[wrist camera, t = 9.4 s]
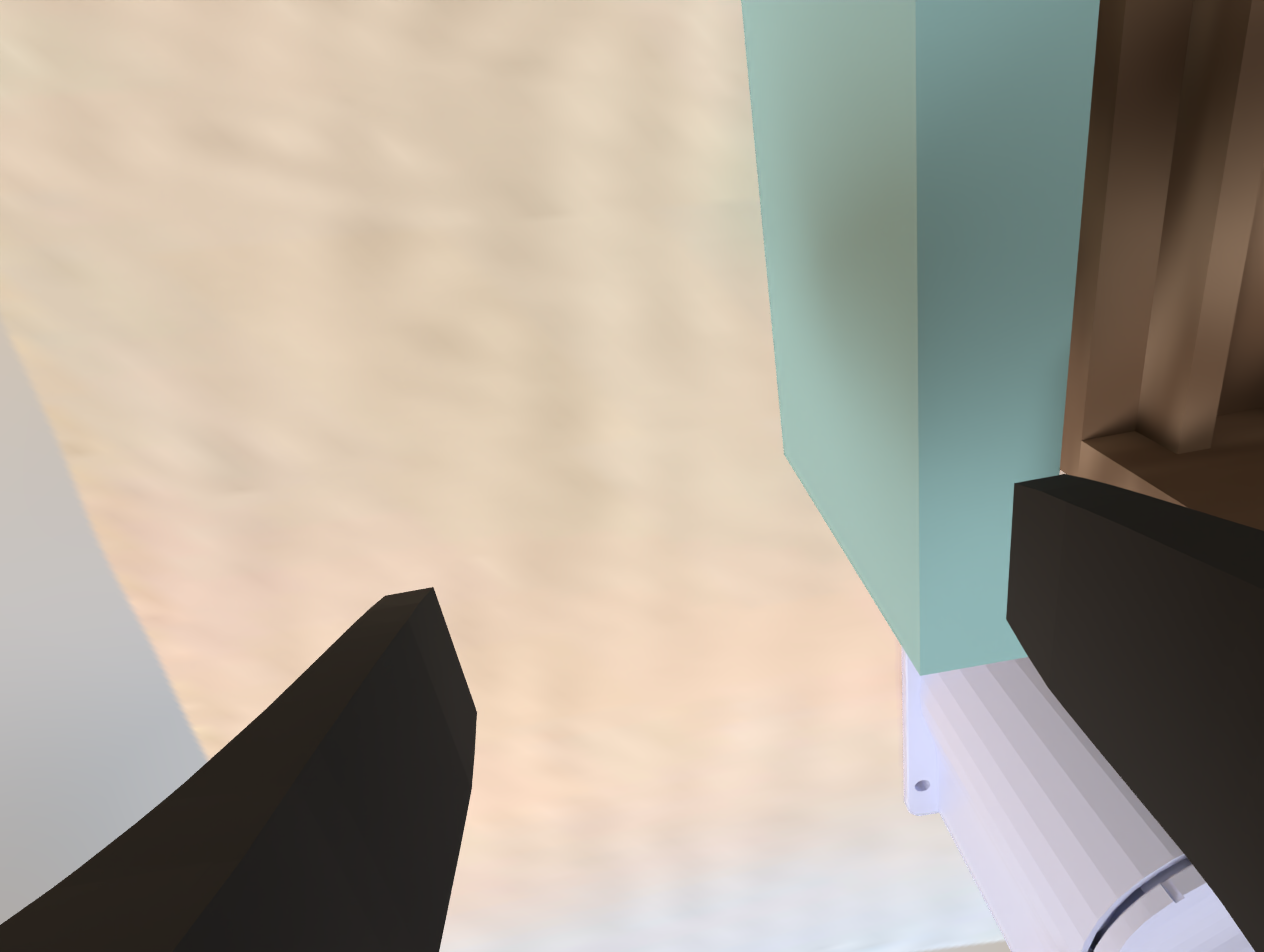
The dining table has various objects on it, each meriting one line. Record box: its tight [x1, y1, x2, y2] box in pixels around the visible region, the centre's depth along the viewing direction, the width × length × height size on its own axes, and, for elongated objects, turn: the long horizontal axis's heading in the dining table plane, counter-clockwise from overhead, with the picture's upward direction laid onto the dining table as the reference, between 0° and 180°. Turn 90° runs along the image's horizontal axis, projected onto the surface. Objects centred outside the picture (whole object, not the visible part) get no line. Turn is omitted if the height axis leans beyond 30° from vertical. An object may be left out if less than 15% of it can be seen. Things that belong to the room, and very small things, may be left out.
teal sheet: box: [741, 0, 1100, 676], centre depth 13 cm, size 12×2×9 cm, turn 10°
